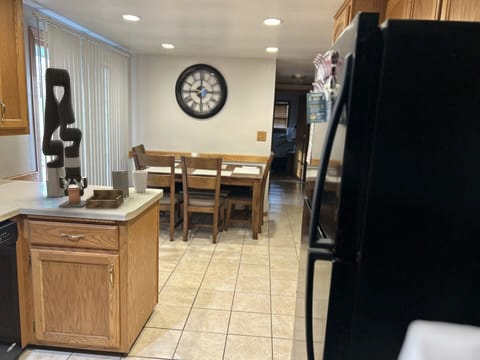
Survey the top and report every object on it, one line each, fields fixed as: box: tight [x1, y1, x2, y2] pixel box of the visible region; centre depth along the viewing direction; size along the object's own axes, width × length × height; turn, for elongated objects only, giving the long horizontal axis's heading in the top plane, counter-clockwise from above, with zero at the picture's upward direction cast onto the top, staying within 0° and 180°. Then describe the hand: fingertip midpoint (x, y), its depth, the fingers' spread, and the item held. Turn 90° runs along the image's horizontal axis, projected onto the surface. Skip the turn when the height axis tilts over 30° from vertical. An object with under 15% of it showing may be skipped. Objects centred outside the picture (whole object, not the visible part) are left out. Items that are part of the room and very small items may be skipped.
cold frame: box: [85, 189, 125, 209], centre depth 187 cm, size 16×14×7 cm
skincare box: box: [111, 169, 130, 197], centre depth 208 cm, size 8×7×16 cm
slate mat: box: [58, 199, 86, 209], centre depth 186 cm, size 12×12×1 cm
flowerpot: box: [67, 185, 81, 204], centre depth 185 cm, size 7×7×9 cm
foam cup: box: [131, 169, 149, 193], centre depth 223 cm, size 10×9×13 cm
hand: (74, 196), depth 185 cm, fingers open, 7 cm apart
